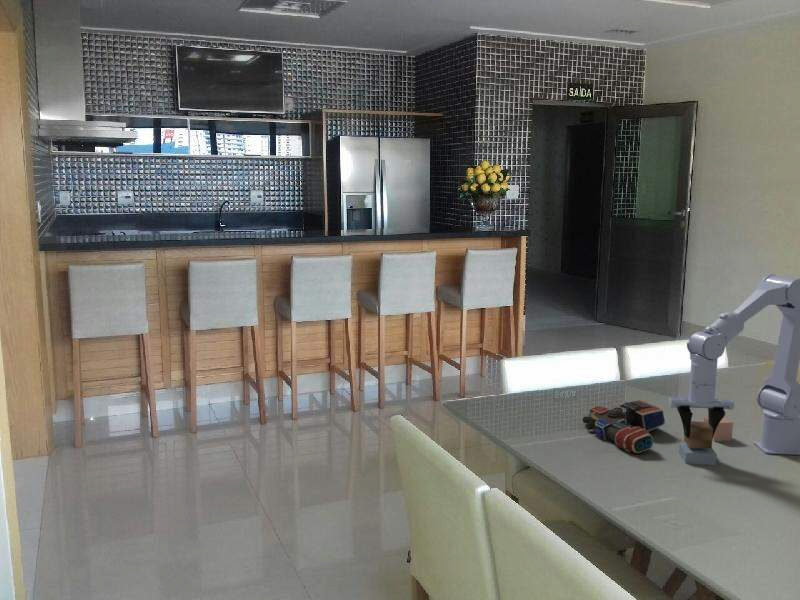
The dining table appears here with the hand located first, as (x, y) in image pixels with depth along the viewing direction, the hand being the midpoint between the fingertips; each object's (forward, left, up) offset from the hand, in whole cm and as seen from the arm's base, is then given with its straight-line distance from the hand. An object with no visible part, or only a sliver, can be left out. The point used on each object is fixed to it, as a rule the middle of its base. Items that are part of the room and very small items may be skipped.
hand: (698, 436), depth 172 cm
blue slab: (0, 0, -6) cm, 6 cm away
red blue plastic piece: (+12, -15, -6) cm, 20 cm away
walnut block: (0, 0, -2) cm, 2 cm away
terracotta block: (-10, -16, -6) cm, 20 cm away
